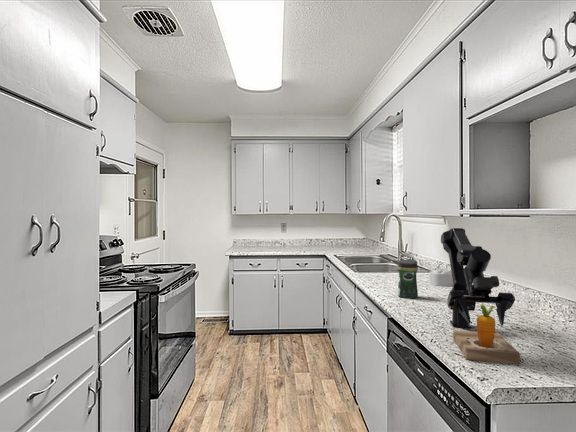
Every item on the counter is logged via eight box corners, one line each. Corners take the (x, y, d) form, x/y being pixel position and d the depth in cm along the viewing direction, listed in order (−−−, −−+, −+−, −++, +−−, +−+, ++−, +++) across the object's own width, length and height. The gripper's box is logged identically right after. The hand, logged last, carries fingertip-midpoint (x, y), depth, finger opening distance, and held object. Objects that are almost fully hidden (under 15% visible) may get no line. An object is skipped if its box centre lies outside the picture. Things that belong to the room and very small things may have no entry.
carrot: (494, 352, 116) (494, 303, 116) (495, 357, 112) (495, 306, 112) (476, 349, 118) (476, 301, 118) (477, 355, 114) (477, 304, 114)
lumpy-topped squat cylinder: (428, 283, 228) (428, 268, 227) (449, 283, 227) (450, 268, 227) (434, 286, 217) (435, 271, 217) (457, 286, 217) (457, 271, 217)
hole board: (453, 339, 128) (453, 330, 128) (498, 342, 125) (498, 333, 125) (466, 359, 110) (466, 349, 110) (519, 364, 107) (519, 353, 107)
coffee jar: (416, 295, 193) (417, 259, 193) (418, 299, 186) (419, 261, 185) (396, 294, 195) (397, 258, 195) (398, 298, 188) (398, 260, 187)
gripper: (450, 265, 122) (458, 308, 111) (513, 267, 119) (528, 312, 108) (444, 284, 130) (451, 327, 119) (503, 287, 126) (516, 330, 116)
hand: (486, 324), depth 115 cm, fingers open, 9 cm apart
